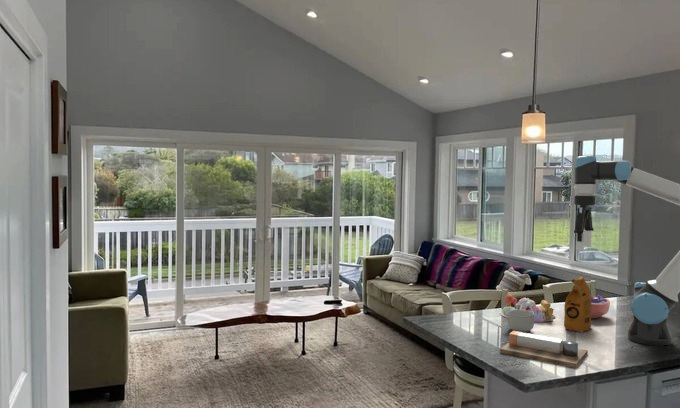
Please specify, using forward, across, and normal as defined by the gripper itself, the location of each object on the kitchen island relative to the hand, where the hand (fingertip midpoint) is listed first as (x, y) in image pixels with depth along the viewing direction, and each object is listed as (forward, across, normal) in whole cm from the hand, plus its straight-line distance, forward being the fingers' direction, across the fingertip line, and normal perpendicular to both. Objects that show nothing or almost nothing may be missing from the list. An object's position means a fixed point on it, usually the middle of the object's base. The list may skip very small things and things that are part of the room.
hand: (583, 248), depth 204 cm
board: (+37, +28, -7) cm, 47 cm away
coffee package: (+37, -16, -5) cm, 41 cm away
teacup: (+37, +2, -24) cm, 44 cm away
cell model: (+37, -41, -5) cm, 56 cm away
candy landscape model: (+37, -24, -29) cm, 53 cm away
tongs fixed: (+35, +28, -7) cm, 46 cm away
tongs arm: (+35, +29, -10) cm, 47 cm away
